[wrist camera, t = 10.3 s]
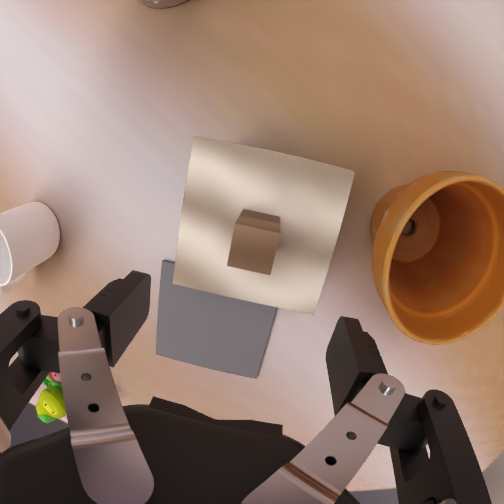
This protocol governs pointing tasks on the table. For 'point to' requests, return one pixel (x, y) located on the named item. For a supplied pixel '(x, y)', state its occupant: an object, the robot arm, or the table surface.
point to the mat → (211, 328)
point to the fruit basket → (51, 399)
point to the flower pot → (440, 255)
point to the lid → (259, 224)
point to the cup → (25, 241)
